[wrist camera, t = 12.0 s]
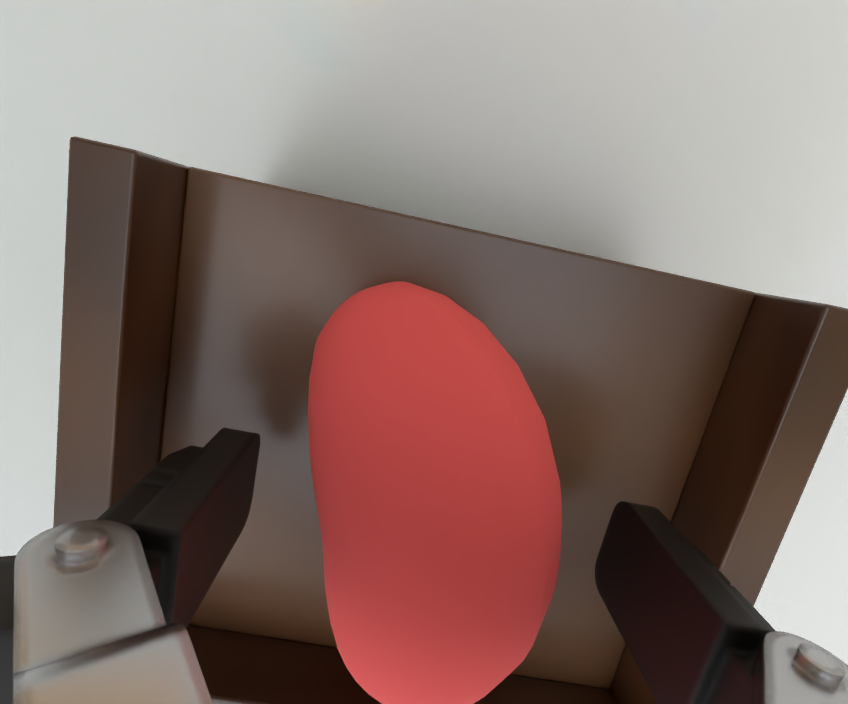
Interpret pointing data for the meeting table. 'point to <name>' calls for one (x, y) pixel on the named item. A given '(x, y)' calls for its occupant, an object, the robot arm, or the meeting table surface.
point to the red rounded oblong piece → (429, 497)
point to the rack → (508, 322)
